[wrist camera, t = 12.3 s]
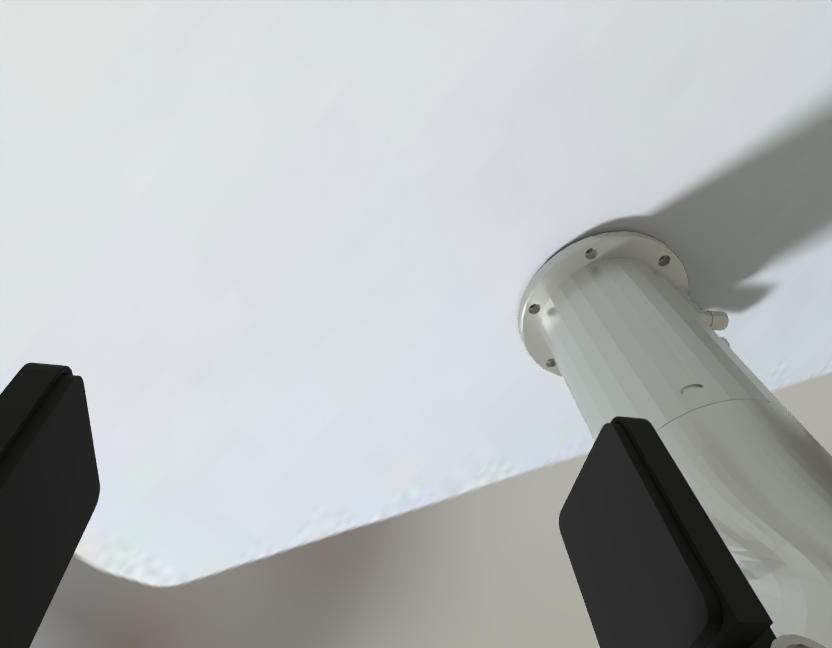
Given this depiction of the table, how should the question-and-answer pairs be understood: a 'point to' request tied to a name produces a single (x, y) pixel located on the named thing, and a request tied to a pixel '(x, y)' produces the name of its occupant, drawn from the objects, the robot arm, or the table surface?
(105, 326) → the table surface
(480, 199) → the table surface
